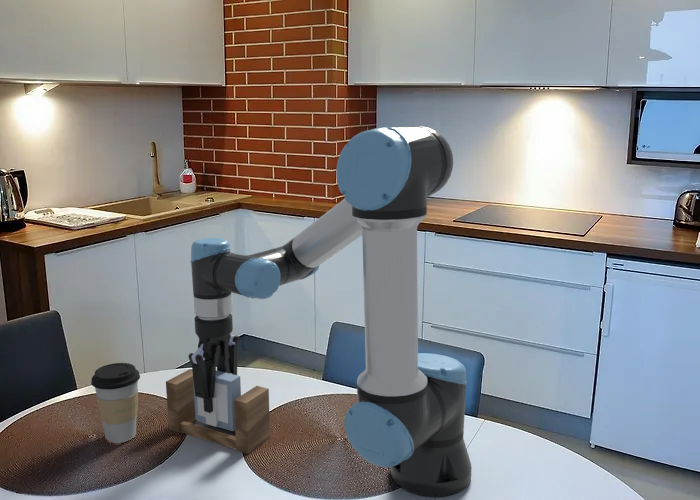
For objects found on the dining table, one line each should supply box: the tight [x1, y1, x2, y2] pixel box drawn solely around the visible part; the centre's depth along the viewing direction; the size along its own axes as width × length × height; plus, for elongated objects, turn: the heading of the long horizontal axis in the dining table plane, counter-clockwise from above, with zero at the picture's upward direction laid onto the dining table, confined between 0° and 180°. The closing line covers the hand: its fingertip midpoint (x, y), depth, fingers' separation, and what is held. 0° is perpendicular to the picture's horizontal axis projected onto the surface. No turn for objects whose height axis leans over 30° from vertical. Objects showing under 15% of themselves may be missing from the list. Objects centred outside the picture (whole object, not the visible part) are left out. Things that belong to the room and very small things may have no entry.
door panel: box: [193, 369, 242, 432], centre depth 135 cm, size 10×3×11 cm, turn 62°
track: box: [165, 368, 271, 455], centre depth 136 cm, size 21×8×11 cm, turn 62°
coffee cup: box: [90, 362, 141, 443], centre depth 134 cm, size 9×9×15 cm
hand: (218, 420), depth 136 cm, fingers closed on door panel, 3 cm apart
